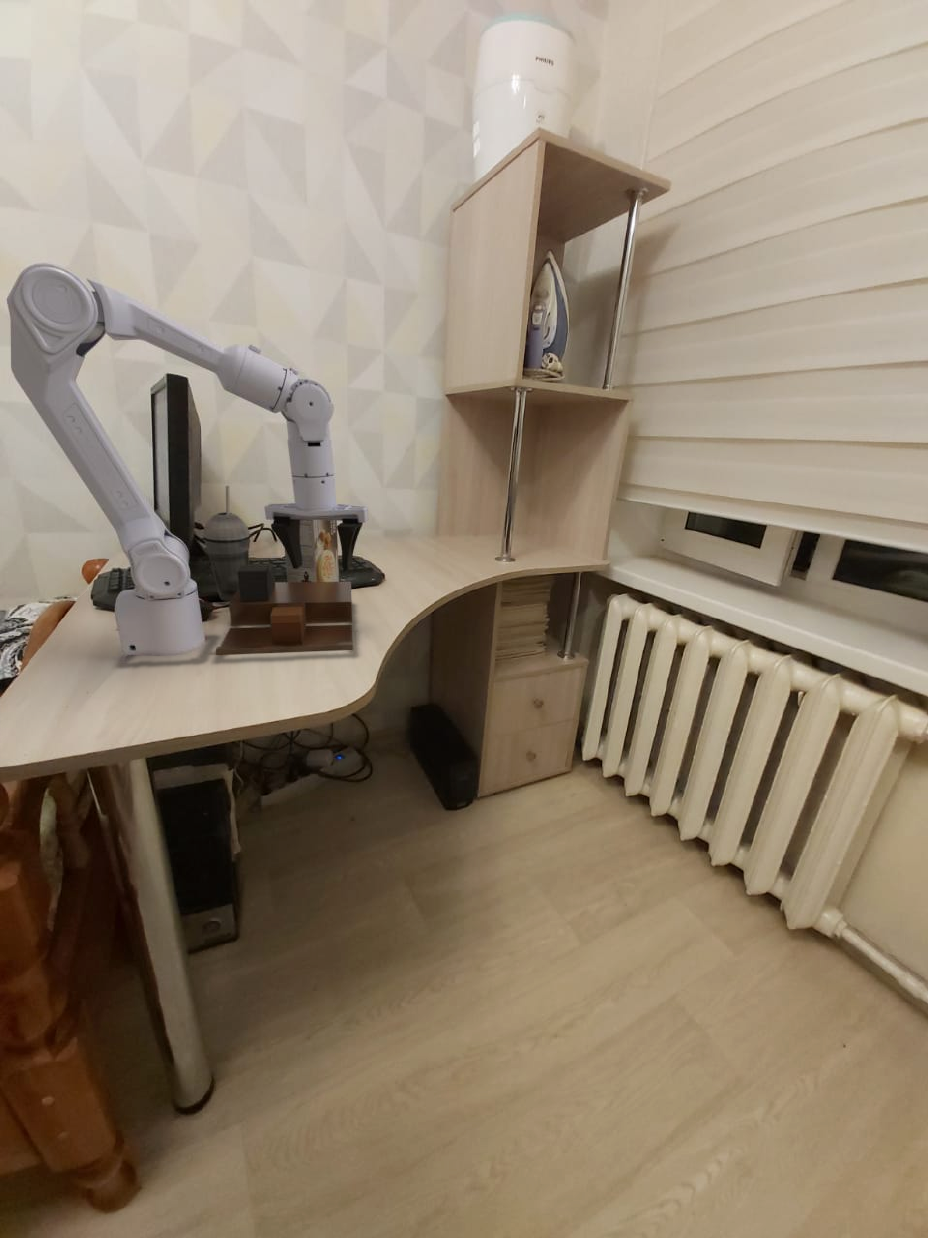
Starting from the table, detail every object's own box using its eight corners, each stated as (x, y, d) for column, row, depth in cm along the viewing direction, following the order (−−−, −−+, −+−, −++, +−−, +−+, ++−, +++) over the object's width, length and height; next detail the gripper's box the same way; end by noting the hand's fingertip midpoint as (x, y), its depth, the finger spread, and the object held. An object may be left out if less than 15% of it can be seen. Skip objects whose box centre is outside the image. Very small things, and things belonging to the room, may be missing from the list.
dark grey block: (268, 600, 77) (265, 571, 75) (240, 601, 76) (237, 571, 74) (275, 584, 84) (272, 556, 82) (249, 584, 83) (246, 556, 81)
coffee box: (310, 578, 101) (306, 498, 95) (340, 582, 100) (337, 502, 94) (286, 592, 93) (280, 506, 87) (318, 597, 92) (314, 510, 86)
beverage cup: (229, 592, 91) (215, 480, 84) (265, 597, 90) (254, 484, 82) (202, 605, 85) (184, 485, 77) (241, 611, 83) (226, 489, 76)
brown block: (302, 646, 71) (300, 615, 69) (272, 647, 70) (269, 615, 68) (306, 623, 78) (304, 595, 76) (279, 624, 77) (277, 595, 75)
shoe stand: (217, 661, 67) (212, 631, 66) (244, 607, 85) (241, 582, 83) (353, 655, 71) (352, 627, 69) (351, 605, 89) (351, 581, 87)
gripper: (371, 472, 73) (376, 561, 78) (274, 469, 73) (286, 558, 79) (358, 479, 66) (364, 575, 72) (252, 476, 67) (266, 572, 72)
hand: (322, 567), depth 75 cm, fingers open, 7 cm apart
